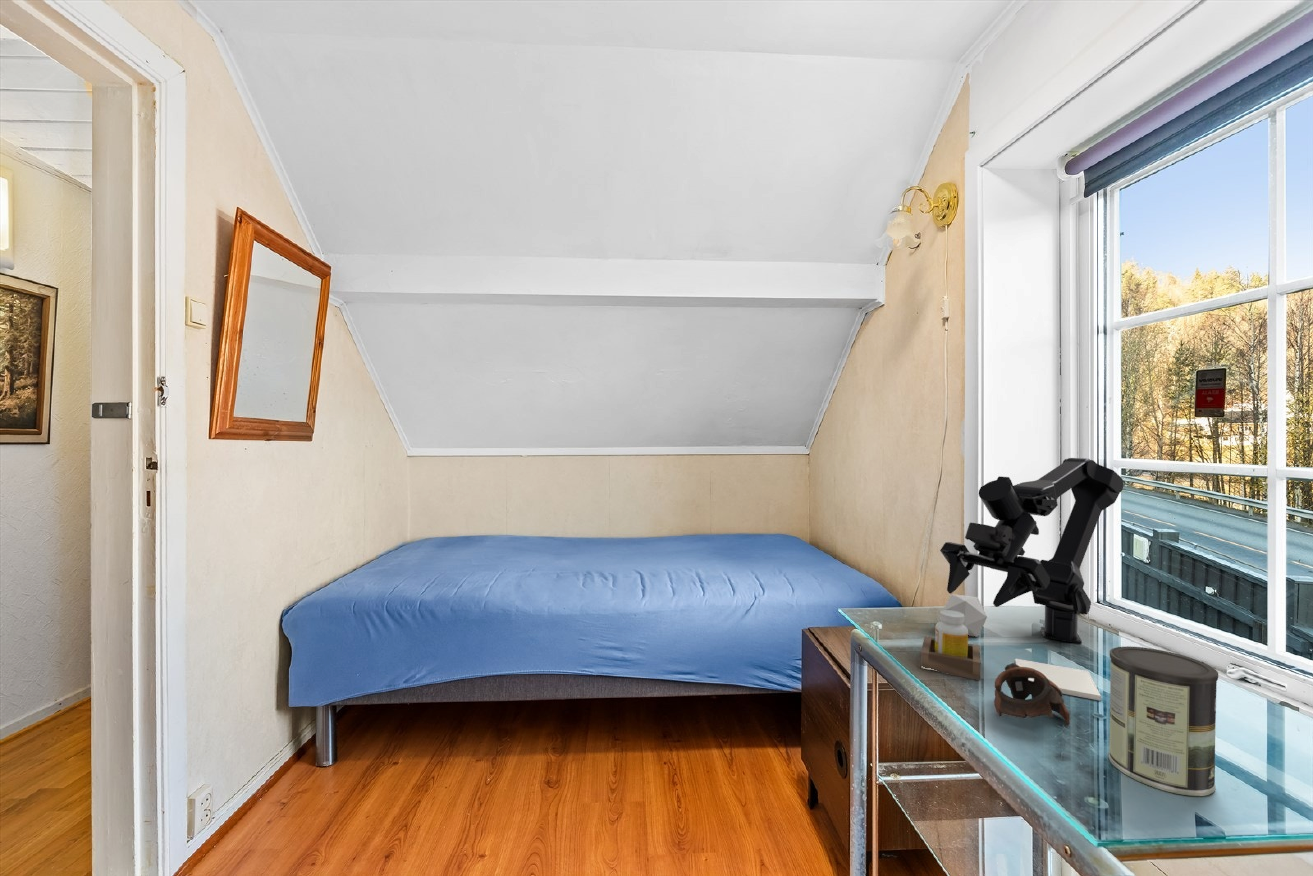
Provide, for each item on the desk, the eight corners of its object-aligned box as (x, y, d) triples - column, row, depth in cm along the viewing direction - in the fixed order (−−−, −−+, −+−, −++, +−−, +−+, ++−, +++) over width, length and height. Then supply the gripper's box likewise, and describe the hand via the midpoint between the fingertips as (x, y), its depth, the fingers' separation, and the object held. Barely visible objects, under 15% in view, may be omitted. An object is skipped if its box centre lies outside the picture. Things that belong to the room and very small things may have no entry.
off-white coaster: (1015, 662, 107) (1015, 658, 107) (1088, 675, 101) (1088, 671, 101) (1019, 685, 97) (1019, 680, 97) (1100, 700, 92) (1101, 695, 92)
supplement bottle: (927, 661, 107) (928, 610, 107) (949, 658, 109) (950, 607, 108) (951, 673, 102) (952, 619, 102) (974, 669, 103) (975, 616, 103)
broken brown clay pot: (1090, 738, 81) (1072, 693, 80) (1023, 760, 83) (1004, 716, 81) (1041, 681, 93) (1024, 640, 91) (983, 701, 95) (966, 662, 93)
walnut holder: (924, 651, 111) (924, 636, 111) (979, 661, 107) (979, 645, 107) (920, 668, 103) (921, 652, 103) (980, 680, 99) (980, 663, 99)
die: (987, 633, 124) (961, 592, 129) (1003, 626, 117) (975, 582, 121) (953, 647, 124) (928, 605, 128) (967, 640, 116) (940, 595, 121)
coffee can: (1182, 756, 76) (1185, 650, 76) (1237, 804, 66) (1240, 683, 66) (1092, 743, 79) (1094, 641, 79) (1131, 788, 69) (1134, 671, 69)
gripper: (947, 502, 118) (908, 560, 113) (1042, 515, 101) (1001, 583, 96) (971, 538, 121) (934, 595, 117) (1066, 556, 105) (1028, 623, 100)
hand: (970, 598), depth 107 cm, fingers open, 9 cm apart
